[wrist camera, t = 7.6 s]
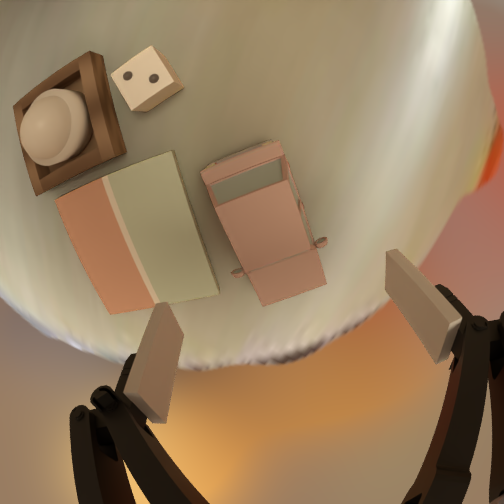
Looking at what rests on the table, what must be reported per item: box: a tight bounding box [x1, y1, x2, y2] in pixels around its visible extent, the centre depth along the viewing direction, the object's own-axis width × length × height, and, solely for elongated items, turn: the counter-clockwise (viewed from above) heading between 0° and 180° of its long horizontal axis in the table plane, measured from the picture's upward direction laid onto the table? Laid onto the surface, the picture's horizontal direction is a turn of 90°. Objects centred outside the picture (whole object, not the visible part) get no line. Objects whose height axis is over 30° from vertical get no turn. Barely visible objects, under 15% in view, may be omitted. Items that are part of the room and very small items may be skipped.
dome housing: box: [13, 51, 127, 196], centre depth 21 cm, size 12×12×3 cm
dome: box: [20, 89, 93, 166], centre depth 19 cm, size 8×8×7 cm
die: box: [111, 45, 184, 112], centre depth 20 cm, size 4×4×5 cm
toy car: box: [200, 140, 327, 306], centre depth 24 cm, size 9×15×10 cm, turn 22°
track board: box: [55, 150, 220, 315], centre depth 29 cm, size 17×16×1 cm
